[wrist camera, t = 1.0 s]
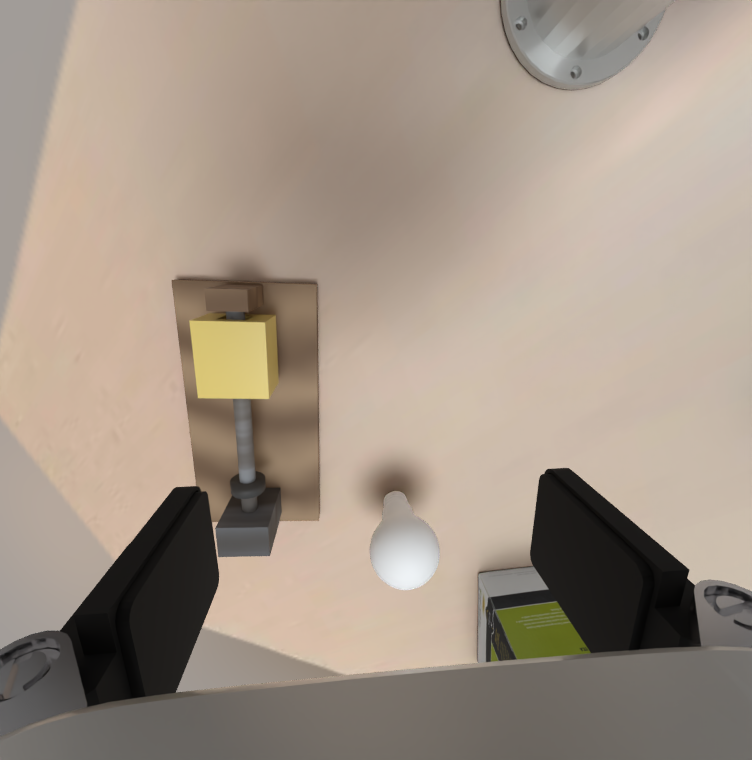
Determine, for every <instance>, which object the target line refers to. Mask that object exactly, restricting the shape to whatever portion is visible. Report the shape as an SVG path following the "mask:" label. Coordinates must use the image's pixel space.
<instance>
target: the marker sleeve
mask: <svg viewBox="0 0 752 760" xmlns="http://www.w3.org/2000/svg"><path fill="white" fill-rule="evenodd" d="M189 322H190V331H191V340H192V349H193V358H194V367H195V376H196V385H197V394H198V398H223V399H269V398H270V396H271V395H272V393H273V391H274V390H275V388H276V386H277V385H278V383H279V378H278V355H277V332H276V315H261V314H245V320H230V319H226V314H223V313H209V314H206V315H203V316H201V317H198V318H195V319H192V320H190V321H189Z"/></svg>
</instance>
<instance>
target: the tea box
mask: <svg viewBox="0 0 752 760" xmlns="http://www.w3.org/2000/svg"><path fill="white" fill-rule="evenodd" d="M588 653H591V652H590V651H589V649H588V648H587V646H586V645H585V643H584V642H583V640H582V639H581V637H580V636H579V634H578V633H577V631H576V630H575V628H574V627H573V625H572V624H571V622H570V621H569V619H568V618H567V616H566V615H565V613H564V612H563V610H562V609H561V607H560V606H559V604H558V603H557V601H556V600H555V598H554V596H553V595H552V593H551V592H550V590H549V589H548V587H547V586H546V584H545V583H544V581H543V580H542V578H541V577H540V575H539V574H538V572H537V571H536V569H535V568H534V566H533V567H524V568H515V569H507V570H498V571H491V572H484V573H479V574H478V663H483V662H494V661H506V660H518V659H529V658H541V657H553V656H565V655H577V654H588Z"/></svg>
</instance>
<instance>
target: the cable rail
mask: <svg viewBox="0 0 752 760" xmlns="http://www.w3.org/2000/svg"><path fill="white" fill-rule="evenodd" d="M172 288H173V296H174V305H175V313H176V321H177V329H178V338H179V346H180V354H181V362H182V371H183V379H184V387H185V396H186V404H187V412H188V420H189V429H190V437H191V445H192V453H193V462H194V470H195V478H196V486H198V487H200V489H201V491H206V492H207V494H208V498H209V505H210V513H211V520H212V522H218V524H217V526H216V528H215V529H216V538H217V547H218V557H238V556H270V553H271V550H272V546H273V543H274V539H275V535H276V532H277V528H278V524H279V521H319V515H320V491H319V396H318V301H317V284H300V283H269V282H238V281H208V280H172ZM209 313H223V314H226V319H230V320H245V314H261V315H276V332H277V355H278V378H279V383H278V385H277V386H276V388H275V390H274V391H273V393H272V395H271V396H270V398H269V399H223V398H198V394H197V385H196V376H195V367H194V358H193V349H192V340H191V331H190V322H189V321H190V320H192V319H195V318H198V317H201V316H203V315H206V314H209Z"/></svg>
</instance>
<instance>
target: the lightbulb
mask: <svg viewBox="0 0 752 760" xmlns="http://www.w3.org/2000/svg"><path fill="white" fill-rule="evenodd" d="M383 506H384V509H383V512H382V521H381V523H380V524H379V525H378V527H377V528H376V530H375V531H374V533H373V535H372V539H371V543H370V559H371V563H372V566H373V568H374V570H375V572H376V573H377V575H378V576H379V577H380V579H381V580H382V581H384V582H385V583H386V584H388V585H389V586H391V587H393V588H396V589H400V590H412V589H416V588H418V587H420V586H422V585H424V584H425V583H426V582H427V581H428V580H429V579H430V578H431V577H432V576H433V574H434V572H435V571H436V569H437V566H438V563H439V556H440V548H439V543H438V539H437V537H436V534H435V532H434V531H433V530H432V528H431V527H430V526H429V524H428V523H426V522H425V521H424V520H423V519H421V518H420V517H418V516H416V515H415V514H414V512H413V509H412V507H411V506H410V505H409V503H408V500H407V498H406V496H405V494H403V493H402V492H400V491H392V492H390V493H388V494H387V495H386V496H385V498H384V503H383Z"/></svg>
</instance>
